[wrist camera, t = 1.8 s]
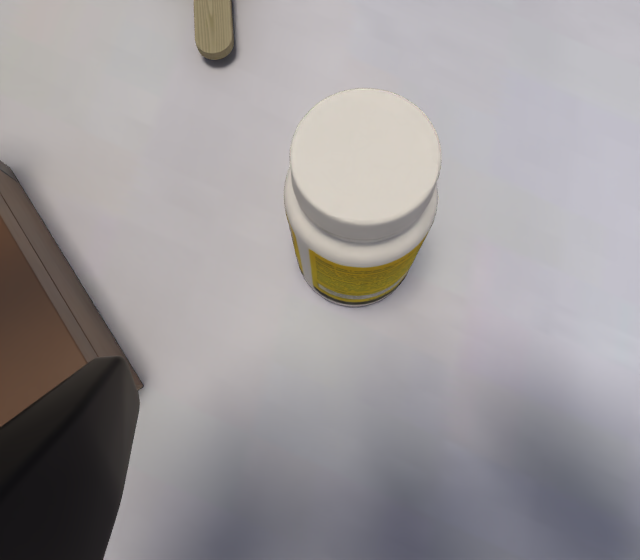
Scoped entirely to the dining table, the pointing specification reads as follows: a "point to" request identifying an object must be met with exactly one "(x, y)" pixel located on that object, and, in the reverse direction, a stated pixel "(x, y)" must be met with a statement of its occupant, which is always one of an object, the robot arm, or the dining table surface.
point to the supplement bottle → (361, 193)
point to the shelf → (40, 308)
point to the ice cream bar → (213, 28)
